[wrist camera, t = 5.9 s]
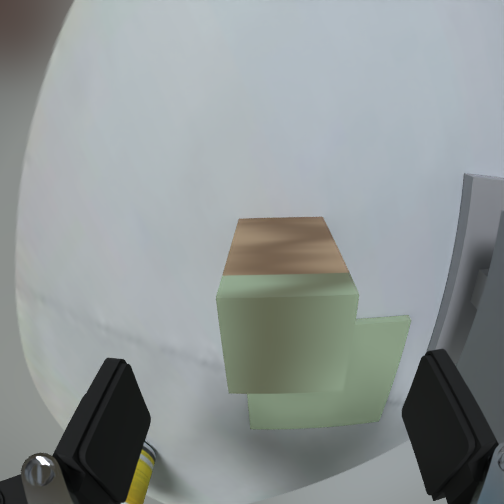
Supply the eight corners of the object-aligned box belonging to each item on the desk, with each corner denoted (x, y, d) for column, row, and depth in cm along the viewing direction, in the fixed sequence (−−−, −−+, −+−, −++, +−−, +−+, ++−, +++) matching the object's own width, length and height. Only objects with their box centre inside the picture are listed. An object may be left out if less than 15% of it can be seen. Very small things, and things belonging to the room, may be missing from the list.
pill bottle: (134, 426, 26) (99, 525, 16) (168, 459, 28) (146, 549, 18) (90, 427, 27) (53, 511, 17) (124, 459, 30) (98, 537, 19)
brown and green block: (322, 216, 17) (359, 294, 10) (319, 289, 19) (342, 390, 11) (239, 218, 17) (216, 297, 10) (243, 291, 19) (228, 393, 12)
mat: (408, 315, 19) (411, 320, 19) (377, 416, 24) (378, 421, 23) (241, 322, 20) (241, 328, 19) (250, 423, 24) (250, 429, 24)
